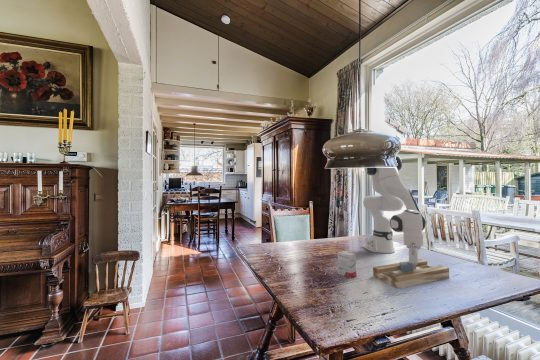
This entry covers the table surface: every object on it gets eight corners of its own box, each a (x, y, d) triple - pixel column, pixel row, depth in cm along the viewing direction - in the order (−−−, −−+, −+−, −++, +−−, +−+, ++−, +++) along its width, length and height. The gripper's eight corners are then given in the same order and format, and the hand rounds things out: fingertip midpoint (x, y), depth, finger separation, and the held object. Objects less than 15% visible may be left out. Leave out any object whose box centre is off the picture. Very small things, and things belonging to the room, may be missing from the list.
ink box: (356, 276, 133) (356, 254, 133) (350, 278, 130) (350, 255, 130) (343, 271, 140) (343, 250, 140) (337, 273, 138) (337, 251, 138)
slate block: (400, 269, 134) (399, 261, 134) (410, 269, 132) (410, 262, 132) (402, 273, 129) (402, 265, 129) (413, 273, 128) (412, 265, 128)
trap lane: (373, 276, 133) (372, 267, 133) (420, 267, 144) (420, 258, 144) (398, 288, 117) (397, 277, 117) (449, 277, 129) (449, 267, 129)
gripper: (420, 246, 120) (421, 275, 120) (420, 238, 138) (421, 264, 138) (405, 245, 123) (406, 273, 123) (407, 237, 141) (408, 262, 141)
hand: (414, 268), depth 130 cm, fingers closed
